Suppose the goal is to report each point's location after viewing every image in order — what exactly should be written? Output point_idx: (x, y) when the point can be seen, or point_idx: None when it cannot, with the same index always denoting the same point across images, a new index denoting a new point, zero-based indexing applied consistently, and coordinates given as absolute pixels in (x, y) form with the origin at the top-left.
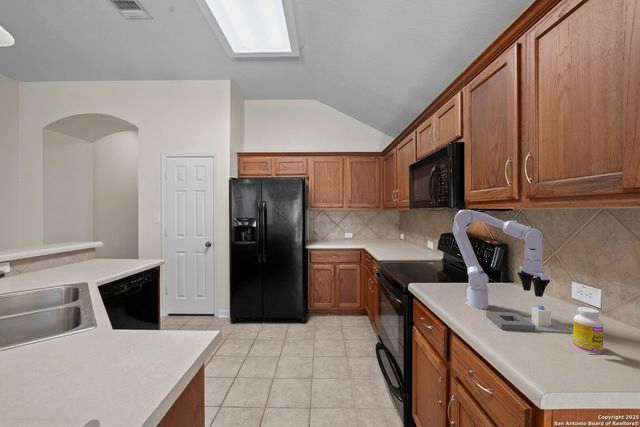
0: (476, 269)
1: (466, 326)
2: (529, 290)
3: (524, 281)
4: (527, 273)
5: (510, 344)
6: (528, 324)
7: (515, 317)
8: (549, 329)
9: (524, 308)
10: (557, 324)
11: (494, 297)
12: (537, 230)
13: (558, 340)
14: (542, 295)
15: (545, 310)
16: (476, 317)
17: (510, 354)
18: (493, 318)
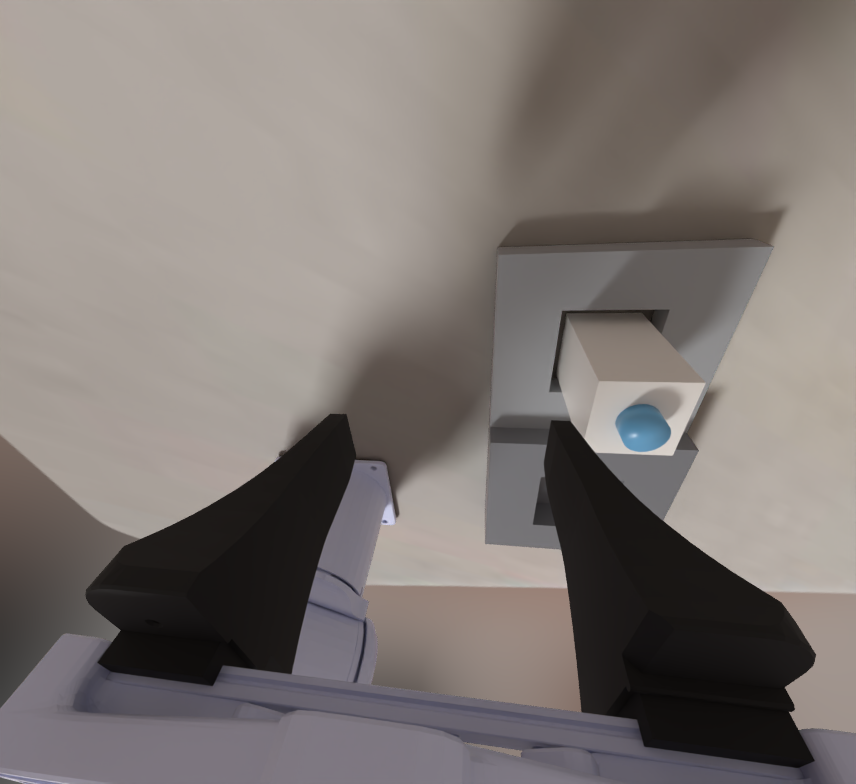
0: None
1: (566, 581)
2: (347, 421)
3: (316, 542)
4: (234, 650)
5: (743, 539)
6: (674, 470)
7: None
8: (699, 361)
9: (238, 255)
10: (626, 252)
11: (83, 344)
12: None
13: (779, 352)
14: (576, 430)
15: (675, 408)
16: (471, 532)
17: (813, 568)
18: None
